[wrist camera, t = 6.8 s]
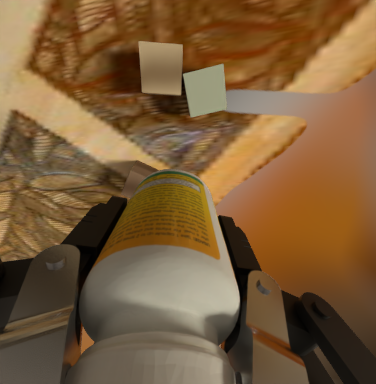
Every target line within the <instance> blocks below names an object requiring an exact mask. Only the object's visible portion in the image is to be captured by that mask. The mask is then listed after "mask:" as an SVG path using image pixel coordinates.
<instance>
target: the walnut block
mask: <svg viewBox="0 0 376 384" xmlns="http://www.w3.org/2000/svg"><path fill="white" fill-rule="evenodd" d="M157 171H159V170H157V169H155V168H153V167H151V166H149V165H147V164H145V163H142V162H140V161H137V162H136V164H135V165H134V166H133V168H132V169H131V170H130V173H129V175H128V178H127V180H126V183H125V185H124V188H123V190H122V193H121V195H124V196H126V197H129V198H131V197H132V195H133V193H134V192H135V190H136V188H137V187H138V185H139V184H140V182H141V181H142V180H143V179H144V178H146V177H147V176H148V175H150V174H152V173H154V172H157Z"/></svg>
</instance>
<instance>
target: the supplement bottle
mask: <svg viewBox="0 0 376 384" xmlns="http://www.w3.org/2000/svg"><path fill="white" fill-rule="evenodd" d="M239 310H240V296H239V290H238V286H237V282H236V279H235V275H234V271H233V268H232V265H231V261H230V257H229V254H228V251H227V247H226V244H225V241H224V237H223V234H222V231H221V227H220V224H219V220H218V216H217V213H216V210H215V206H214V202H213V199H212V196H211V193H210V191H209V189H208V187H207V186H206V185H205V183H204V182H203V181H202V180H201V179H200V178H198V177H197V176H195V175H194V174H191V173H189V172H186V171H182V170H177V169H164V170H160V171H157V172H154V173H152V174H150V175H148V176H147V177H146V178H144V179H143V180H142V181H141V182H140V184H139V185H138V187H137V188H136V190H135V192H134V193H133V195H132V197H131V199H130V200H129V202H128V204H127V206H126V208H125V210H124V211H123V213H122V215H121V217H120V218H119V220H118V222H117V224H116V226H115V228H114V229H113V231H112V233H111V235H110V237H109V238H108V240H107V242H106V244H105V246H104V247H103V249H102V251H101V253H100V255H99V257H98V258H97V260H96V262H95V264H94V265H93V267H92V269H91V271H90V272H89V274H88V276H87V278H86V280H85V283H84V285H83V287H82V290H81V294H80V299H79V314H80V319H81V322H82V325H83V327H84V329H85V331H86V332H87V334H88V335H89V336H90V338H91V339H92V340H93V341H94V344H93V345H92V346H90V347H89V348H87V349H86V350H85V351H84V352H83V353H82V355H81V356H80V357H79V359H78V361H77V363H76V364H74V365H73V366H72V367H71V368H70V370H69V371H68V373H67V375H66V378H65V383H64V384H236V383H235V373H234V370H233V368H232V367H231V365H230V362H229V359H228V356H227V354H226V353H225V351H224V350H223V349H221V348H220V347H219V345H220V344H221V343H222V342H223V341H225V340H226V339H227V337H228V336H229V335H230V334H231V332H232V330H233V329H234V327H235V325H236V322H237V320H238V316H239Z"/></svg>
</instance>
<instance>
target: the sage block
mask: <svg viewBox="0 0 376 384" xmlns="http://www.w3.org/2000/svg"><path fill="white" fill-rule="evenodd" d="M183 81H184V87H185V92H186V97H187V103H188V108H189V114H190V117H195V116H199V115H203V114H208V113H212V112H216V111H221V110H225V109H227V103H226V90H225V78H224V66H223V64H221V65H217V66H213V67H209V68H205V69H201V70H197V71H193V72H189V73H185V74H183Z"/></svg>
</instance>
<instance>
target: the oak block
mask: <svg viewBox="0 0 376 384" xmlns="http://www.w3.org/2000/svg"><path fill="white" fill-rule="evenodd" d="M139 54H140V69H141V84H142V92H143V93H147V94H157V95H172V96H181V92H182V59H183V45H180V44H168V43H155V42H143V41H139Z"/></svg>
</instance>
